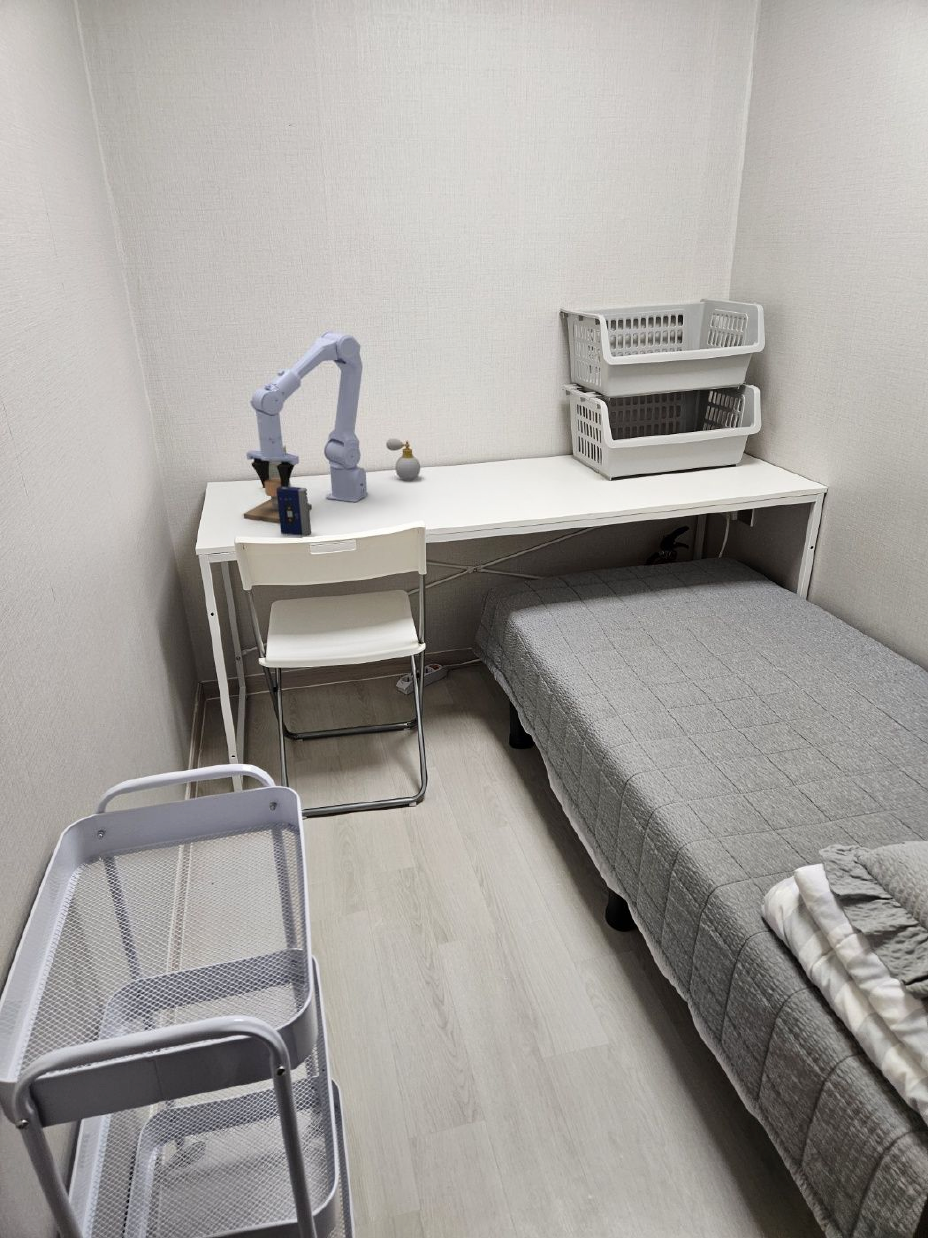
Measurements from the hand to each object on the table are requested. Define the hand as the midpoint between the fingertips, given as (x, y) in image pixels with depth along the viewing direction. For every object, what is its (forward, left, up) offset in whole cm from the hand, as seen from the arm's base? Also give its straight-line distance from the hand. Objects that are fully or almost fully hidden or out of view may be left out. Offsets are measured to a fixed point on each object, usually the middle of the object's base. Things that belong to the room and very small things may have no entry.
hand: (275, 488), depth 219 cm
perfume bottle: (-19, -40, -7) cm, 45 cm away
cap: (0, 0, -1) cm, 1 cm away
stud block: (0, 0, -7) cm, 7 cm away
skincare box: (+12, -19, -7) cm, 24 cm away
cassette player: (-12, +11, -7) cm, 18 cm away
